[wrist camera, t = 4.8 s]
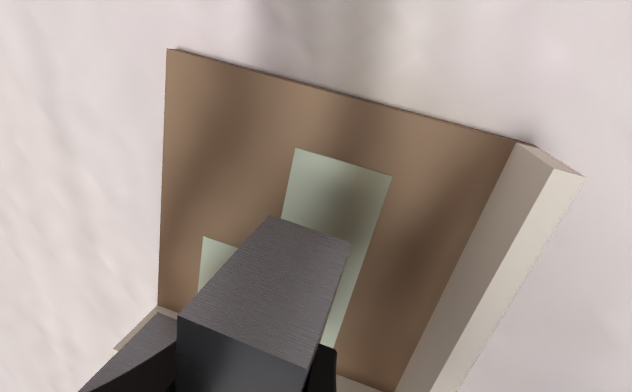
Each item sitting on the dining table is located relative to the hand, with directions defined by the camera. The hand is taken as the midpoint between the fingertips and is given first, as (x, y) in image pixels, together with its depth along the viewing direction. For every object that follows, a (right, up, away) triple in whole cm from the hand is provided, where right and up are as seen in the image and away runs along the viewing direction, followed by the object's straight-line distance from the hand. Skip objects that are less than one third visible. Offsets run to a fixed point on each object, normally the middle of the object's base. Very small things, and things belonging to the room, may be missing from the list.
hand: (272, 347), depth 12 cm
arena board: (+1, +2, +8) cm, 8 cm away
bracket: (-2, +1, +2) cm, 3 cm away
